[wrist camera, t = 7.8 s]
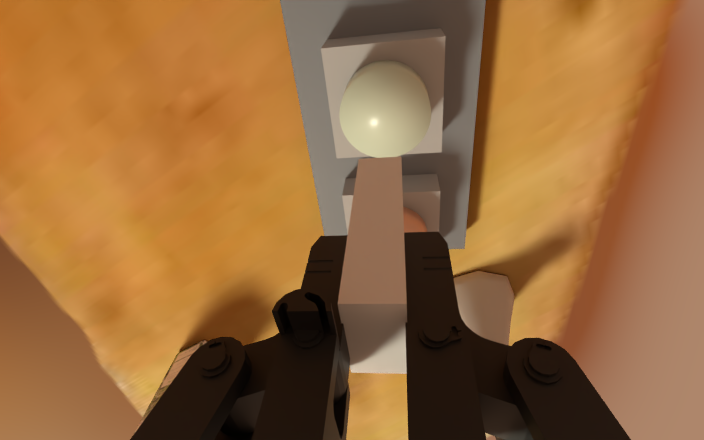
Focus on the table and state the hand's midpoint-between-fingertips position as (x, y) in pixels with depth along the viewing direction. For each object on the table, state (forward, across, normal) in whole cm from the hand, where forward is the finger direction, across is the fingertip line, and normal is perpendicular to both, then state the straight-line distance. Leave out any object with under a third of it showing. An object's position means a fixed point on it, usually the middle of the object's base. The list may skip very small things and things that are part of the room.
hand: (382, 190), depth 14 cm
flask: (+15, +8, -23) cm, 29 cm away
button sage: (+13, 0, -1) cm, 13 cm away
